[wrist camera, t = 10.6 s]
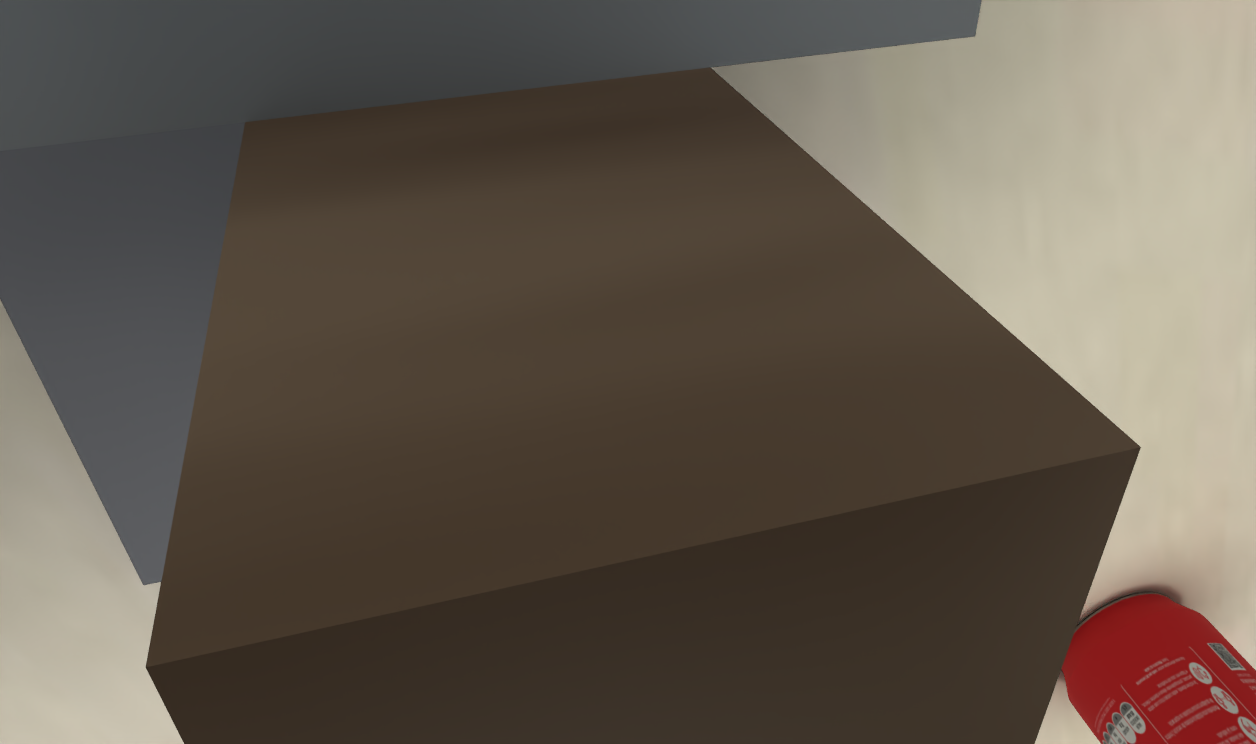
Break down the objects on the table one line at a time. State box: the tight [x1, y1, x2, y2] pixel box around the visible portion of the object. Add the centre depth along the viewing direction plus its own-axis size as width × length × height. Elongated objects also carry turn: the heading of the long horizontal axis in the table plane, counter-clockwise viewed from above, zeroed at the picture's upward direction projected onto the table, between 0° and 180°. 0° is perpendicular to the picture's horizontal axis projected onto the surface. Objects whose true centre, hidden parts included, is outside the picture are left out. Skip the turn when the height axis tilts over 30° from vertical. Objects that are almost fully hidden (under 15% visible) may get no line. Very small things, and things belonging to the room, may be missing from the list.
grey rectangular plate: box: [0, 122, 245, 585], centre depth 15 cm, size 10×22×1 cm, turn 2°
